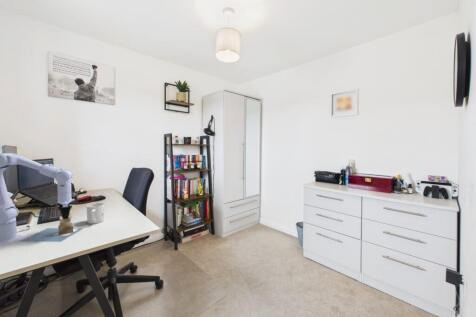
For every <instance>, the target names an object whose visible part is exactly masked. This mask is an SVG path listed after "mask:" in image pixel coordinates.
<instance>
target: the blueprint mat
mask: <svg viewBox="0 0 476 317" xmlns="http://www.w3.org/2000/svg"><path fill="white" fill-rule="evenodd" d="M83 229H84V227H83V228H82V227H80V228H79V227H78V228H74V227H73V233H68V234H64V235H59V228H58V227H56V228H55V227H53V228H52V227H51V228H50V227H47V228H44V229H42V230H41V231H39V232H36V233H33V234H32V235H30V236H28V237H26V238H24V239H22V240H20V241H19V242H23V243H24V242H25V243H26V242H28V243H29V242H30V243H34V242H37V243H38V242H40V243H41V242H45V243H46V242H47V243H49V242H50V243H51V242H52V243H55V242H57V243H59V242H60V243H61V242H63V241H65V240H66V239H68V238H70V237H71V236H73V235H75V234H78V233H79V232H80V231H82V230H83Z"/></svg>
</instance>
